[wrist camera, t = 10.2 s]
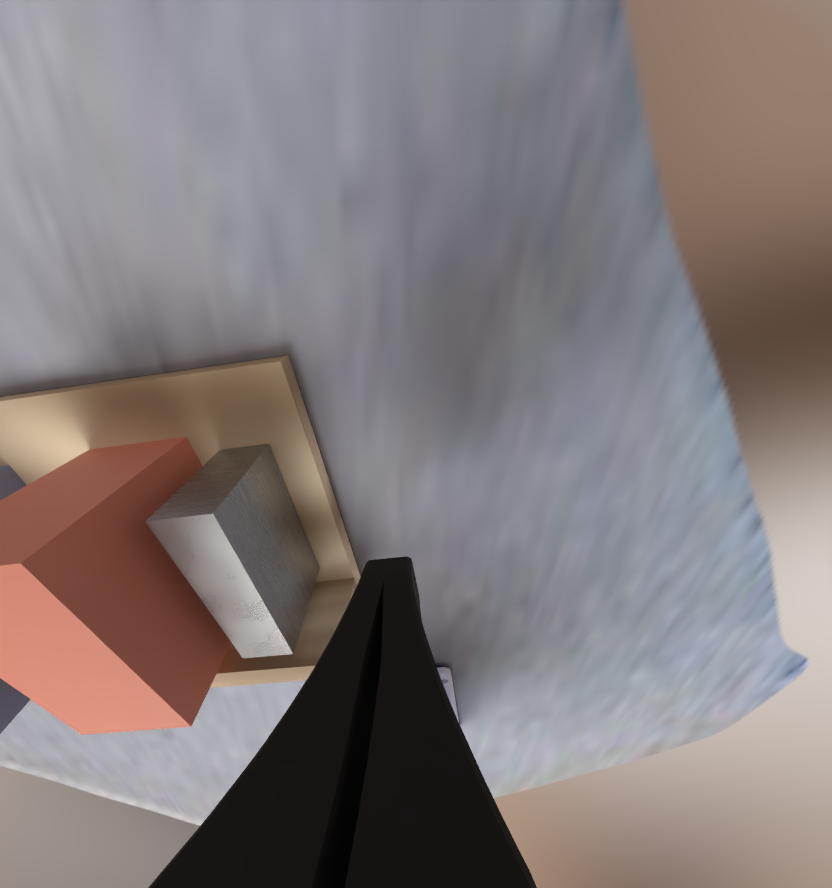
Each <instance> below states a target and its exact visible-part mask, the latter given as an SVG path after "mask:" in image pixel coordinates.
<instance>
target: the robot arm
mask: <svg viewBox="0 0 832 888" xmlns="http://www.w3.org/2000/svg"><path fill="white" fill-rule="evenodd" d="M149 888H537V887H536V885H535V882H534V880H533V878H532V876H531V873H530V871H529V869H528V867H527V865H526V863H525V861H524V859H523V857H522V855H521V853H520V851H519V849H518V847H517V845H516V843H515V841H514V839H513V838H512V835H511V833H510V831H509V829H508V827H507V826H506V823H505V821H504V819H503V817H502V815H501V813H500V811H499V809H498V807H497V805H496V803H495V801H494V799H493V797H492V795H491V792H490V790H489V788H488V786H487V784H486V782H485V780H484V778H483V776H482V774H481V771H480V769H479V767H478V765H477V762H476V760H475V758H474V756H473V754H472V751H471V749H470V747H469V745H468V742H467V740H466V738H465V736H464V734H463V731H462V729H461V727H460V725H459V719H458V712H457V706H456V700H455V694H454V688H453V681H452V675H451V670H450V669H449V668H446V667H439V668H437V667H436V664H435V661H434V658H433V656H432V653H431V650H430V647H429V644H428V641H427V638H426V634H425V631H424V628H423V624H422V620H421V612H420V601H419V593H418V588H417V583H416V579H415V574H414V569H413V564H412V559H411V558H409V557H397V558H387V559H378V560H369V561H368V562H367V563H366V565H365V568H364V570H363V573H362V575H361V578H360V580H359V582H358V584H357V587H356V589H355V591H354V593H353V595H352V598H351V600H350V602H349V604H348V606H347V608H346V610H345V612H344V614H343V616H342V618H341V620H340V622H339V624H338V626H337V628H336V630H335V632H334V634H333V635H332V637H331V639H330V641H329V643H328V644H327V646H326V648H325V650H324V651H323V653H322V655H321V657H320V659H319V660H318V662H317V664H316V665H315V667H314V669H313V671H312V672H311V674H310V675H309V677H308V679H307V680H306V682H305V684H304V685H303V687H302V688H301V690H300V691H299V693H298V695H297V696H296V698H295V699H294V701H293V702H292V704H291V705H290V707H289V708H288V710H287V711H286V713H285V714H284V716H283V717H282V719H281V720H280V721H279V723H278V724H277V726H276V727H275V729H274V730H273V732H272V733H271V734H270V736H269V737H268V739H267V740H266V742H265V743H264V744H263V746H262V747H261V748H260V750H259V751H258V753H257V754H256V755H255V757H254V758H253V759H252V761H251V762H250V763H249V765H248V766H247V767H246V769H245V770H244V771H243V772H242V774H241V775H240V776H239V778H238V779H237V780H236V781H235V783H234V784H233V785H232V787H231V788H230V789H229V791H228V792H227V793H226V794H225V796H224V797H223V798H222V800H221V801H220V802H219V803H218V805H217V806H216V807H215V809H214V810H213V811H212V812H211V814H210V815H209V816H208V817H207V819H206V820H205V821H204V822H203V824H202V825H201V826H200V827H199V828H198V830H197V831H196V832H195V833H194V834H193V836H192V837H191V838H190V839H189V840H188V842H187V843H186V844H185V845H184V846H183V847H182V849H181V850H180V851H179V852H178V853H177V854H176V856H175V857H174V858H173V859H172V860H171V862H170V863H169V864H168V865H167V866H166V867H165V869H164V870H163V871H162V872H161V873H160V875H159V876H158V877H157V878H156V879H155V881H154V882H153V883H152V884H151V885H150V886H149Z"/></svg>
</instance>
